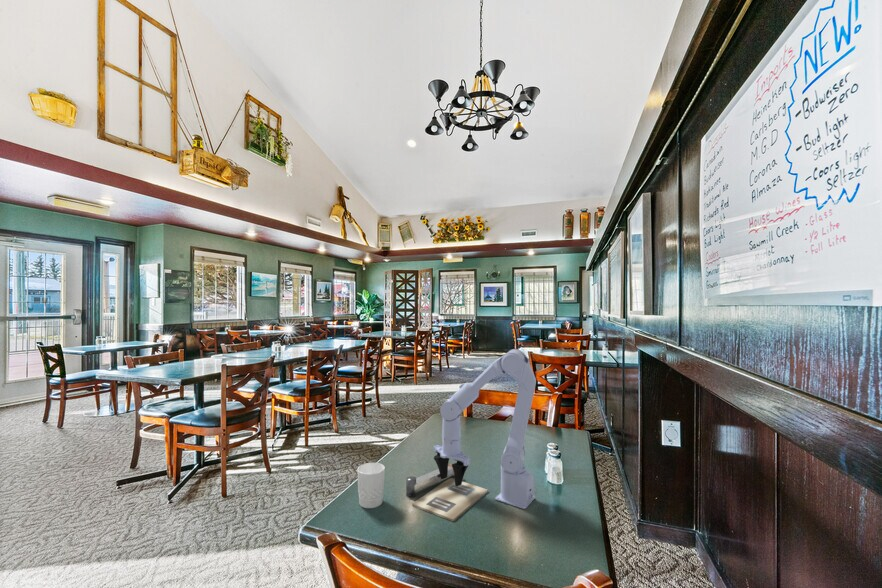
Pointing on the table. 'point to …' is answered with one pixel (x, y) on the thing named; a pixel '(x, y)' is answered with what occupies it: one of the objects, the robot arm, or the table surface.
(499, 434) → the table surface
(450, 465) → the light grey long piece
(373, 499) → the white cup
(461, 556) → the table surface
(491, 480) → the table surface
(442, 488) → the label board
